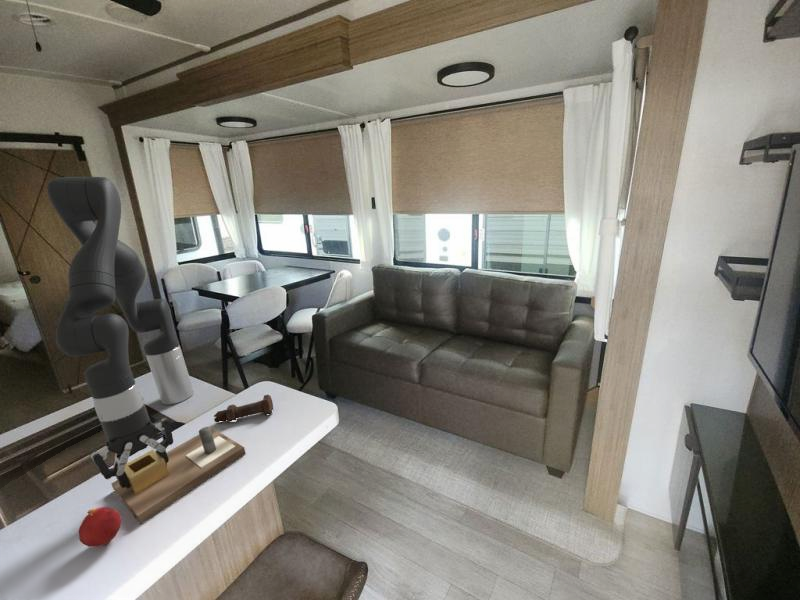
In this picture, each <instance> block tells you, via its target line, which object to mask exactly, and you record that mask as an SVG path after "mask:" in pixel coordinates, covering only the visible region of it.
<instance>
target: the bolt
mask: <svg viewBox="0 0 800 600" xmlns="http://www.w3.org/2000/svg"><path fill="white" fill-rule="evenodd" d="M272 399H273V398H272V397H271V395H270V394H265V395H263V398H262V400H258V401H255V402H251V403H247V404H244V405H239V406H237V405H236V404H230V405H228V406H227V407H226V409H222V410H220V411H217V412H215V414H214V415H213V417H214V419H213V420H214V422H215V423H216V422H219V421H226V420H228V421H226V422H229V421H232V420H236V418H238V419H240V418H239V417H241V418H244V416H246V417H249V416H248V415H250V416H253V415H257V414H262V413H264V414H265V415H266V414H271V413H272V410H273V411H274V404H273V400H272ZM272 414H273V413H272ZM272 414H271V415H272Z"/></svg>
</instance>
